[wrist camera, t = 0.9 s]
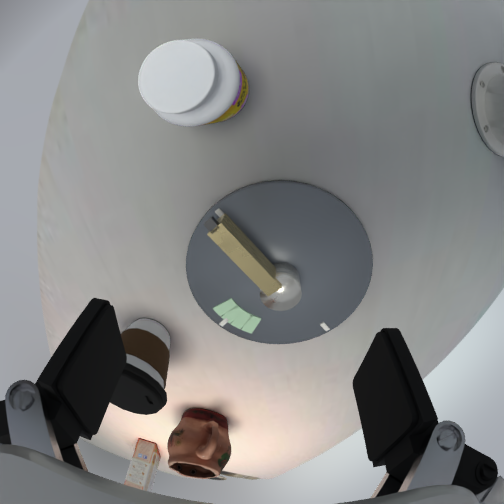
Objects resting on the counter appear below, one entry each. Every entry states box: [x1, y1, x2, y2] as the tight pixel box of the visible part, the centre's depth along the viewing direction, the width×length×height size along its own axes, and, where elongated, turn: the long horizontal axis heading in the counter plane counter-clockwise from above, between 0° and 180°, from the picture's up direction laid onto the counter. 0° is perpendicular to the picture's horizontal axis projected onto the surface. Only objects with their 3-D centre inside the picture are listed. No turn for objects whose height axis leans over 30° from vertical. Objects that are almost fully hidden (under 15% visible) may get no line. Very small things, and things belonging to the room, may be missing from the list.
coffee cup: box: [110, 318, 170, 415], centre depth 35 cm, size 11×11×12 cm
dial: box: [186, 180, 373, 344], centre depth 33 cm, size 22×22×1 cm
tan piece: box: [204, 213, 302, 311], centre depth 30 cm, size 13×4×4 cm, turn 40°
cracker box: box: [124, 439, 160, 492], centre depth 58 cm, size 14×6×21 cm, turn 170°
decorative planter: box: [168, 408, 231, 479], centre depth 45 cm, size 20×12×14 cm, turn 161°
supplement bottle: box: [138, 38, 249, 127], centre depth 19 cm, size 7×7×13 cm
